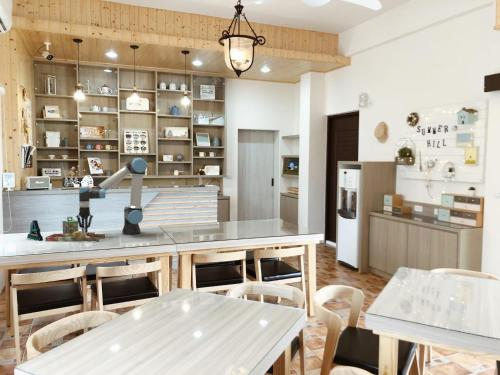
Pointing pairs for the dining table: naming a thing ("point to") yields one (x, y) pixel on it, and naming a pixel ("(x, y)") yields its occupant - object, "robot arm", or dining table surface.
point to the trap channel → (70, 237)
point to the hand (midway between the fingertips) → (84, 236)
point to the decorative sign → (35, 231)
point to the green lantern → (70, 226)
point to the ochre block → (78, 234)
